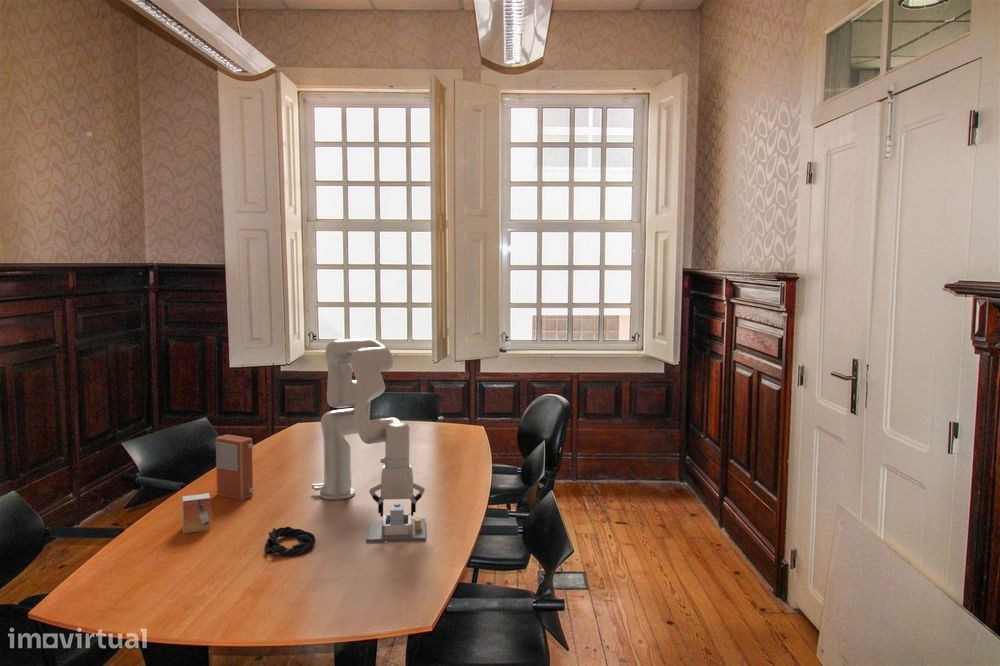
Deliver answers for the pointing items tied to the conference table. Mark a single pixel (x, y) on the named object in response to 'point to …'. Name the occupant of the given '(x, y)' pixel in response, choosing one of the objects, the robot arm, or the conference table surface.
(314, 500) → the conference table surface
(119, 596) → the conference table surface
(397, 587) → the conference table surface
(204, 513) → the small box
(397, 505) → the block
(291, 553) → the cable
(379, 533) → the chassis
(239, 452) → the orange electrical enclosure
